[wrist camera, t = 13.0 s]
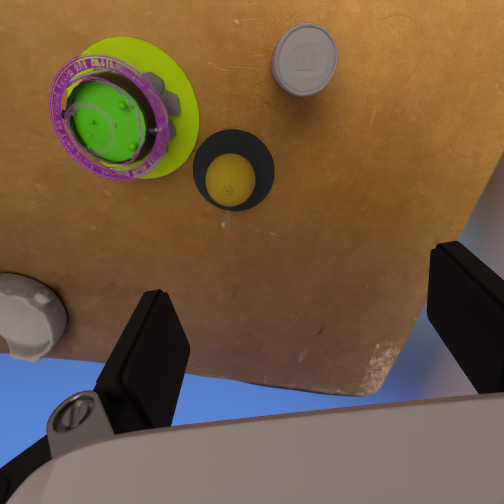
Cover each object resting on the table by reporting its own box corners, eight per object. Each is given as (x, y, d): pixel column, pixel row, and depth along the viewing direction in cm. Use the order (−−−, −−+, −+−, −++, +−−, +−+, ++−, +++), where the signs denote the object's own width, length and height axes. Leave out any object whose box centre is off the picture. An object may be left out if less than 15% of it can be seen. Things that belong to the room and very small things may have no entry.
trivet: (177, 163, 39) (175, 164, 39) (240, 110, 36) (240, 111, 36) (228, 223, 43) (227, 225, 43) (289, 180, 40) (289, 181, 39)
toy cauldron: (206, 52, 34) (184, 43, 24) (194, 188, 41) (173, 223, 31) (61, 22, 33) (-23, 1, 23) (75, 167, 40) (16, 196, 30)
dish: (59, 349, 56) (42, 372, 52) (-24, 316, 53) (-50, 338, 48) (83, 292, 50) (66, 313, 45) (-10, 251, 46) (-38, 270, 42)
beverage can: (315, 88, 35) (338, 94, 24) (271, 92, 35) (275, 99, 25) (316, 35, 33) (341, 17, 22) (269, 39, 33) (272, 24, 22)
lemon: (253, 194, 40) (251, 219, 33) (209, 189, 40) (198, 213, 33) (258, 150, 38) (258, 167, 31) (212, 144, 38) (200, 160, 31)
